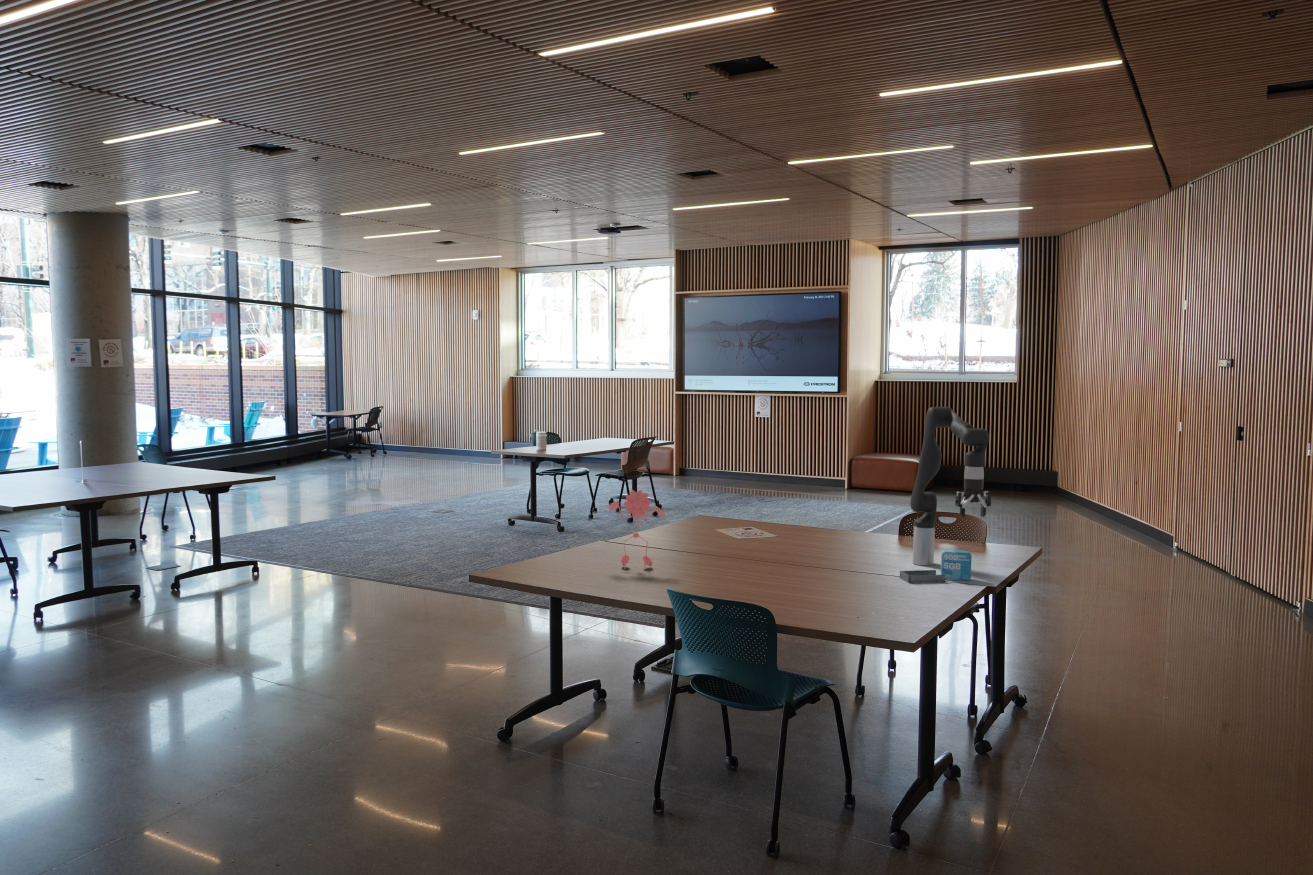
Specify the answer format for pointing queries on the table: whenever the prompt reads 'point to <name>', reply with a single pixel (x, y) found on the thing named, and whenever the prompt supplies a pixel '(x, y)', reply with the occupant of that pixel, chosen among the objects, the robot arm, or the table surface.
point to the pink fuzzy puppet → (636, 506)
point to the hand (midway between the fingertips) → (972, 516)
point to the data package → (956, 564)
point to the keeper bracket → (921, 576)
